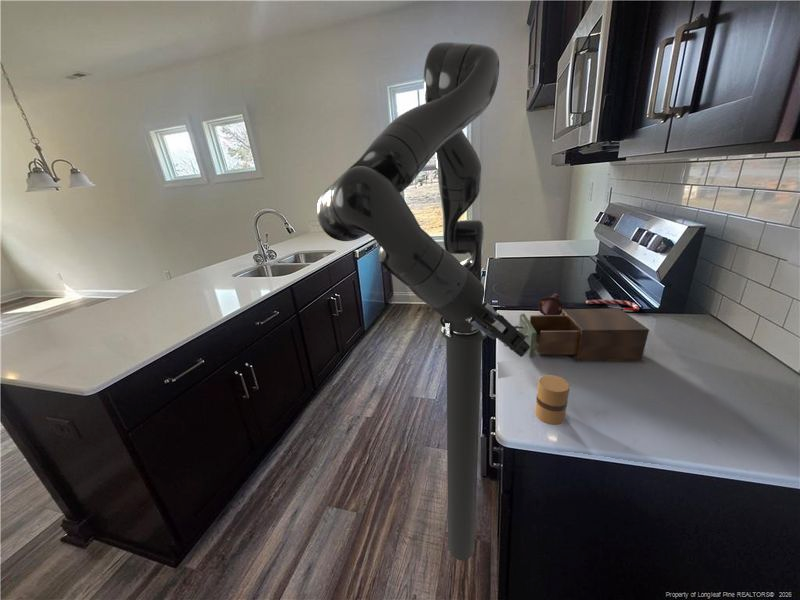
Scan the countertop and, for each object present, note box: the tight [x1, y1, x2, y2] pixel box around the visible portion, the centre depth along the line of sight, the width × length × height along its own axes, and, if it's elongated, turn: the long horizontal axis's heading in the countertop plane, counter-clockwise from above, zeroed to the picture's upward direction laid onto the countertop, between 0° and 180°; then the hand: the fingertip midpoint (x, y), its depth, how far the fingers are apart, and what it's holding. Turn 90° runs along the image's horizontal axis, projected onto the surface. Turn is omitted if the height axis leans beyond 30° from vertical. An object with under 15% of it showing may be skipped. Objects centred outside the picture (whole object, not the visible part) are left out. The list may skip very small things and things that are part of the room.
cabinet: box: [561, 307, 650, 362], centre depth 81 cm, size 15×13×9 cm
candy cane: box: [585, 299, 640, 313], centre depth 106 cm, size 8×1×15 cm
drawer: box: [512, 313, 580, 358], centre depth 83 cm, size 18×11×7 cm, turn 84°
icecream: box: [537, 293, 564, 315], centre depth 101 cm, size 7×7×15 cm
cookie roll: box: [534, 374, 571, 426], centre depth 60 cm, size 5×5×8 cm
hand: (507, 339), depth 52 cm, fingers open, 8 cm apart
